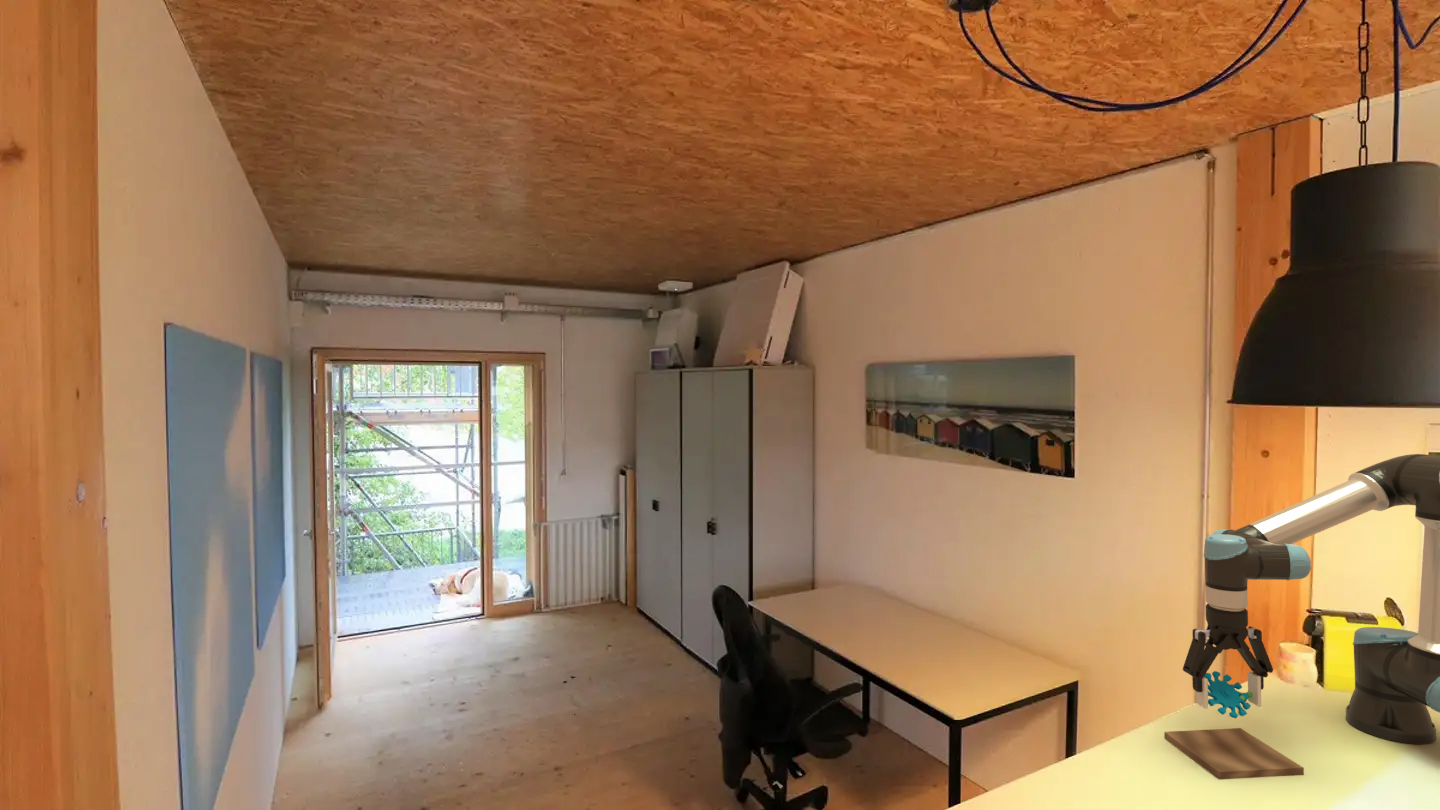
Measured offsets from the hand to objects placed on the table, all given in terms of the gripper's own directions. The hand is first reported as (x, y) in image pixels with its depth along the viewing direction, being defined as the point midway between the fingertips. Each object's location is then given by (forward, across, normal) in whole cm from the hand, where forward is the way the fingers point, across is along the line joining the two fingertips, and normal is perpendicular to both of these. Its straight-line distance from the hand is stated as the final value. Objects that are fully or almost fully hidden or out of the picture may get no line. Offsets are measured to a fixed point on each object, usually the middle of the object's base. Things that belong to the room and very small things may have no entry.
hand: (1228, 704), depth 151 cm
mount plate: (+11, 0, 0) cm, 11 cm away
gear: (+2, 0, 0) cm, 2 cm away
